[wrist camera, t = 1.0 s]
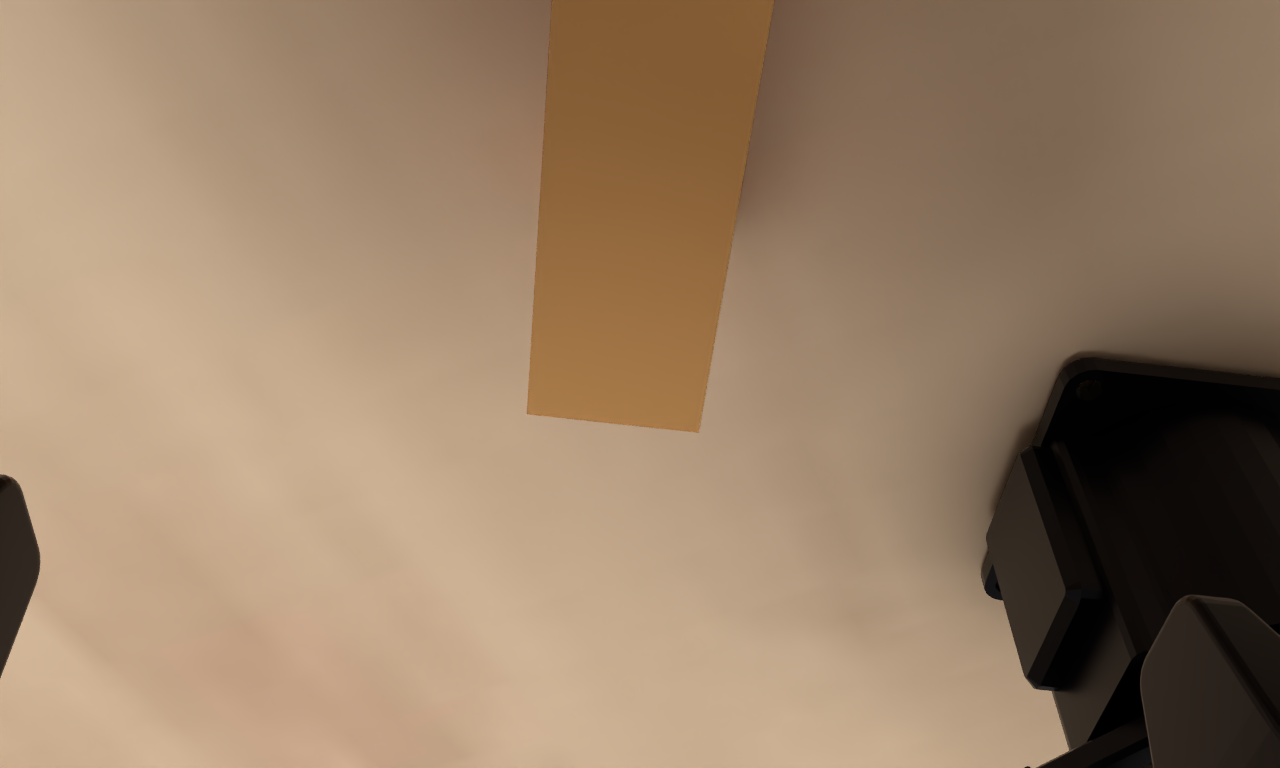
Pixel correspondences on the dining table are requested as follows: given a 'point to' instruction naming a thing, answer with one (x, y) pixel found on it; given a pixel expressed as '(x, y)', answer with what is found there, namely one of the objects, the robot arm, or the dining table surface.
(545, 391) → the wooden bracket
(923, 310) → the dining table surface
